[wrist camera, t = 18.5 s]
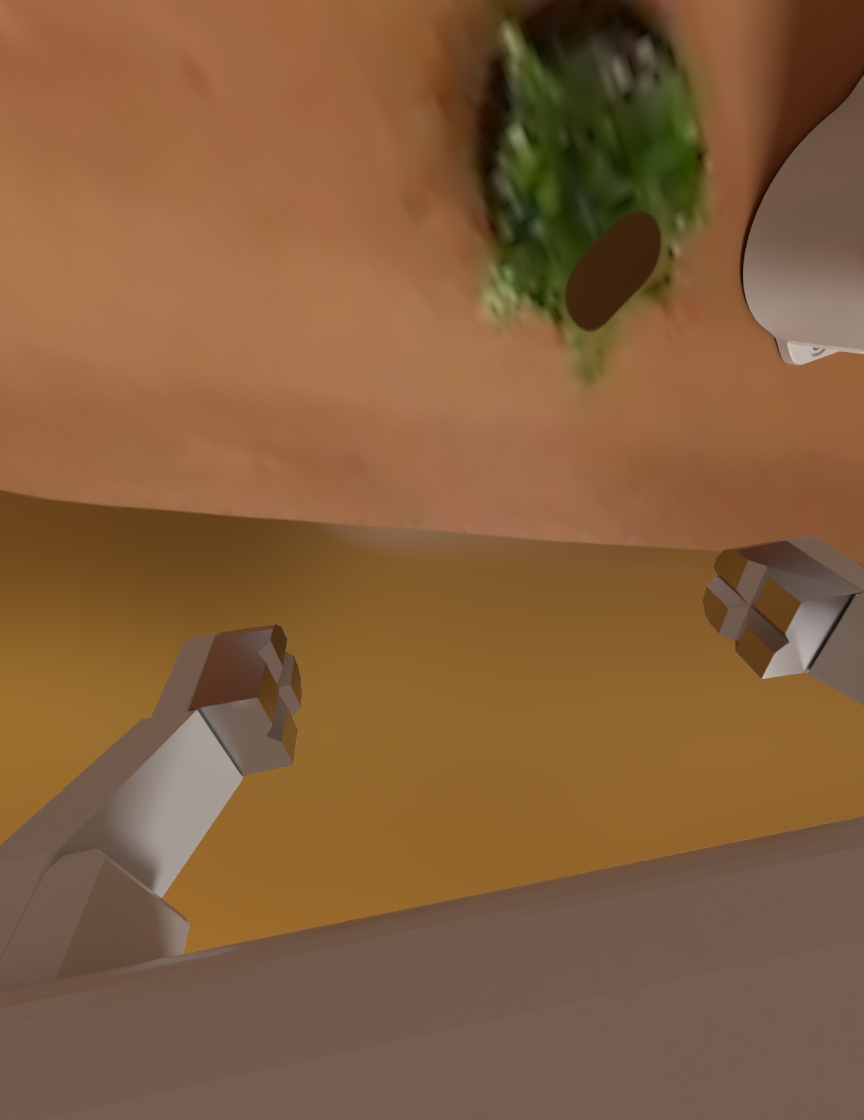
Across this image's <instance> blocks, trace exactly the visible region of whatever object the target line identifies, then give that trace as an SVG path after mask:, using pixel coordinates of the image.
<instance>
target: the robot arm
mask: <svg viewBox="0 0 864 1120" xmlns="http://www.w3.org/2000/svg"><path fill="white" fill-rule="evenodd" d="M743 283H744V291H745V297H746V300H747V303H748V306H749V309H750V311H751V313H752V314H753V316H754V317H755V319H756V320H757V321H758V322H759V323H760V324H761V325H762V326H763V327H764V328H765V329H767V330H768V331H769V332H770V333H771V334H772V335H773V336H774V337H775V338H776V340H777V344H778V348H779V352H780V354H781V357H782V359H783V360H784V362H785V363H787V364H795V365H801V364H805V363H808V362H811V361H813V360H816V359H819V358H822V357H824V356H827V355H830V354H833V353H836V352H838V351H845V352H853V353H861V354H864V75H863V77H862V78H861V79H860V81H859V82H858V84H857V85H856V87H855V88H854V90H853V91H852V93H851V94H850V96H849V97H848V98H847V99H846V100H845V101H844V102H843V103H842V104H841V105H840V106H839V107H838V108H837V109H836V110H835V111H834V112H832V113H831V114H830V115H829V116H828V117H827V118H825V119H824V120H823V121H822V122H821V123H820V124H819V125H817V126H816V127H815V128H814V129H813V130H812V131H811V132H810V133H809V134H808V135H807V136H806V137H805V138H804V139H803V140H802V142H801V143H800V144H799V145H798V146H797V147H796V149H795V150H794V151H793V152H792V154H791V155H790V156H789V157H788V159H787V160H786V161H785V163H784V164H783V166H782V167H781V168H780V170H779V172H778V173H777V175H776V176H775V178H774V179H773V181H772V183H771V185H770V186H769V188H768V190H767V192H766V194H765V196H764V198H763V200H762V202H761V204H760V206H759V209H758V211H757V213H756V216H755V219H754V221H753V224H752V227H751V230H750V234H749V237H748V241H747V246H746V251H745V257H744V266H743ZM713 569H714V571H715V573H716V574H717V577H716V578H715V579H714V580H713V581H712V582H710V583H709V585H707V587H706V590H705V594H704V597H703V605H704V611H705V615H706V617H707V618H708V621H709V622H710V624H711V625H712V626H713V627H714V629H715V630H716V631H717V632H718V633H719V634H721V635H724V636H726V637H728V638H730V639H732V640H734V641H735V651H736V652H737V653H738V654H739V656H740V657H741V658H742V659H743V660H744V661H745V662H746V663H747V664H748V665H749V666H750V667H751V668H752V669H753V670H754V671H755V673H756V674H757V675H758V676H759V677H760V678H761V679H764V678H771V677H777V676H783V675H791V674H797V673H804V672H808V675H810V676H812V677H814V678H815V679H817V680H819V681H821V682H823V683H824V684H826V685H828V686H830V687H832V688H833V689H835V690H837V691H839V692H840V693H843V694H844V695H846V696H848V697H850V698H851V699H853V700H855V701H857V702H859V703H860V704H862V705H864V568H862V567H861V566H859V565H857V564H856V563H854V562H853V561H851V560H850V559H848V558H846V557H845V556H843V555H842V554H840V553H839V552H837V551H835V550H834V549H832V548H831V547H829V546H827V545H826V544H824V543H823V542H821V541H820V540H818V539H816V538H813V537H809V536H805V535H803V536H797V537H792V538H787V539H781V540H777V541H775V542H767V543H761V544H756V545H750V546H744V547H738V548H732V549H727V550H723V551H722V552H721V553H720V554H719V555H718V556H717V558H716V561H715V563H714V566H713ZM286 645H287V637H286V635H285V633H284V631H283V629H282V627H281V626H279V625H277V624H275V625H268V626H261V627H254V628H247V629H240V630H233V631H226V632H220V633H217V634H209V635H202V636H195V637H191V638H189V639H188V640H187V641H186V642H185V643H184V644H183V646H182V648H181V651H180V653H179V655H178V657H177V660H176V662H175V664H174V667H173V669H172V671H171V673H170V676H169V678H168V680H167V683H166V685H165V687H164V689H163V692H162V694H161V696H160V699H159V701H158V703H157V705H156V708H155V710H154V712H153V714H152V717H151V718H147V719H142V720H140V721H139V722H138V723H137V724H136V725H135V726H134V727H132V728H131V729H130V730H129V731H128V732H127V733H126V734H125V735H123V736H122V737H121V738H120V739H119V740H118V741H117V742H116V743H114V744H113V745H112V746H111V747H110V748H109V749H108V750H107V751H105V752H104V753H103V754H102V755H101V756H100V757H99V758H98V759H96V760H95V761H94V762H93V763H92V764H91V765H90V766H89V767H88V768H87V769H85V770H84V771H83V772H82V773H81V774H80V775H79V776H78V777H76V778H75V779H74V780H73V781H72V782H71V783H70V784H68V785H67V786H66V787H65V788H64V789H63V790H62V791H61V792H60V793H59V794H57V795H56V796H55V797H54V798H53V799H52V800H51V801H49V802H48V803H47V804H46V805H45V806H44V807H43V808H42V809H41V810H39V811H38V812H37V813H36V814H35V815H34V816H33V817H32V818H30V819H29V820H28V821H27V822H26V823H25V824H24V825H23V826H21V827H20V828H19V829H18V830H17V831H16V832H15V833H14V834H12V835H11V836H10V837H9V838H8V839H7V840H6V841H5V842H3V844H1V845H0V1120H864V816H860V817H855V818H850V819H845V820H840V821H835V822H831V823H826V824H821V825H816V826H811V827H806V828H801V829H796V830H791V831H787V832H781V833H776V834H772V835H767V836H762V837H757V838H752V839H747V840H742V841H737V842H732V843H728V844H722V845H718V846H712V847H708V848H703V849H698V850H693V851H688V852H684V853H678V854H674V855H669V856H663V857H658V858H654V859H648V860H643V861H639V862H634V863H629V864H624V865H619V866H614V867H609V868H604V869H599V870H594V871H589V872H584V873H580V874H575V875H570V876H565V877H560V878H556V879H550V880H545V881H541V882H535V883H531V884H525V885H520V886H516V887H511V888H506V889H501V890H496V891H491V892H486V893H482V894H477V895H472V896H467V897H462V898H457V899H452V900H447V901H442V902H437V903H432V904H428V905H423V906H417V907H413V908H407V909H403V910H398V911H393V912H388V913H383V914H379V915H373V916H368V917H363V918H359V919H353V920H349V921H344V922H339V923H334V924H329V925H324V926H319V927H314V928H309V929H304V930H300V931H295V932H290V933H285V934H280V935H275V936H270V937H265V938H260V939H256V940H250V941H246V942H241V943H236V944H231V945H226V946H221V947H216V948H211V949H206V950H202V951H196V952H191V953H186V954H183V952H184V948H185V943H186V939H187V934H188V931H189V926H190V924H189V922H188V920H187V919H186V917H185V916H184V915H183V914H182V913H180V912H179V911H178V910H177V909H175V908H174V907H173V906H171V905H170V904H169V903H168V902H166V901H165V900H164V899H162V897H163V895H164V894H165V892H166V891H167V890H168V888H169V886H170V885H171V884H172V882H173V881H174V879H175V878H176V876H177V875H178V873H179V872H180V870H181V869H182V867H183V866H184V865H185V863H186V861H187V860H188V859H189V857H190V856H191V854H192V853H193V851H194V850H195V848H196V847H197V845H198V844H199V842H200V841H201V840H202V838H203V837H204V835H205V834H206V832H207V831H208V829H209V828H210V826H211V824H212V823H213V822H214V820H215V819H216V817H217V816H218V814H219V813H220V812H221V810H222V809H223V807H224V806H225V804H226V803H227V801H228V800H229V798H230V797H231V795H232V794H233V793H234V791H235V790H236V788H237V787H238V785H239V784H240V782H241V781H242V779H243V777H242V775H247V774H252V773H256V772H262V771H266V770H271V769H276V768H280V767H285V766H290V765H293V763H294V754H295V747H296V739H297V732H298V729H297V727H296V725H295V722H294V720H293V718H292V717H293V716H294V715H295V714H296V712H297V711H298V709H300V707H301V697H302V688H301V676H300V672H299V667H298V664H297V662H296V659H295V657H294V656H293V655H291V654H289V653H288V652H286Z"/></svg>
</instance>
